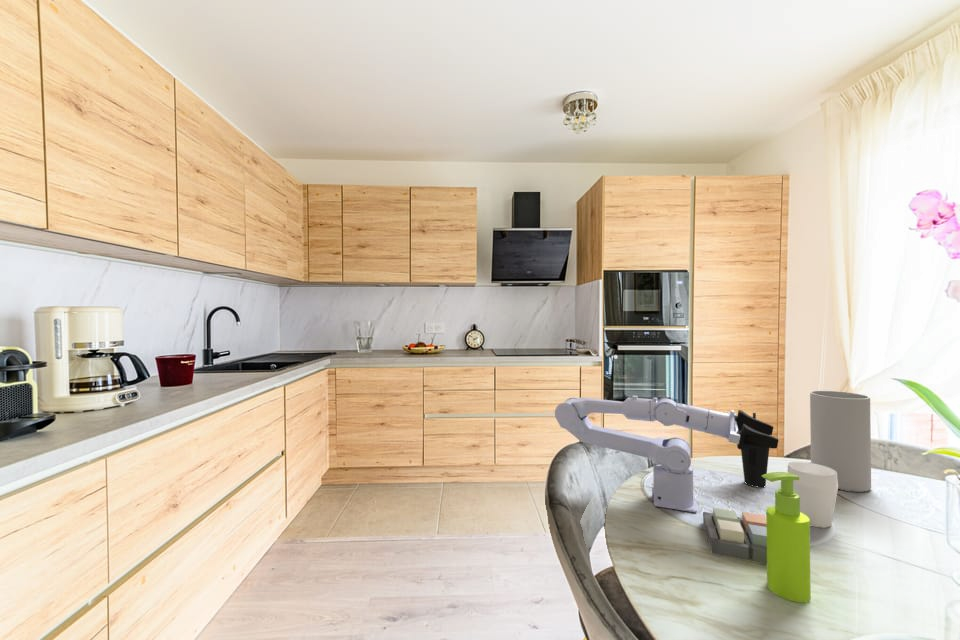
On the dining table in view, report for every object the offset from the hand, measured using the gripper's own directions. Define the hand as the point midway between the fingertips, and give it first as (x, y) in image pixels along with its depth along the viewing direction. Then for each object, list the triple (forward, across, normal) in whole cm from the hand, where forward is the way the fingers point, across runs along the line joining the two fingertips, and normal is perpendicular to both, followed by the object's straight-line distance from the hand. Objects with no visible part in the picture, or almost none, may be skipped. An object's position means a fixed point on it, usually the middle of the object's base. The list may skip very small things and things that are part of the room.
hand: (774, 437), depth 91 cm
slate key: (-2, -18, +16) cm, 24 cm away
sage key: (-8, -13, +17) cm, 23 cm away
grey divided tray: (-4, -16, +18) cm, 25 cm away
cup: (+10, +2, +19) cm, 22 cm away
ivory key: (-7, -19, +16) cm, 26 cm away
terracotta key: (-2, -13, +17) cm, 21 cm away
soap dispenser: (+1, -30, +16) cm, 34 cm away
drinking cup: (+2, +20, +23) cm, 30 cm away
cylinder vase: (+22, +32, +21) cm, 44 cm away
